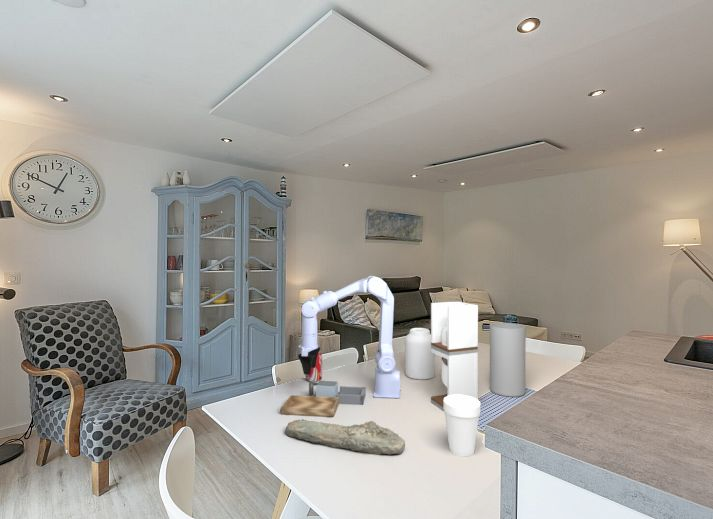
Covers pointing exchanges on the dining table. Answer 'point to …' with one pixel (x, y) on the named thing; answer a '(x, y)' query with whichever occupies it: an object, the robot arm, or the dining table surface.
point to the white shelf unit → (456, 347)
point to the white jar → (419, 354)
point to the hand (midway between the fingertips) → (309, 370)
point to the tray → (310, 406)
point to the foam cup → (461, 423)
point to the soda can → (316, 370)
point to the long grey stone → (348, 436)
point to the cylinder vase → (507, 359)
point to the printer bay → (352, 395)
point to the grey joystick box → (324, 388)
